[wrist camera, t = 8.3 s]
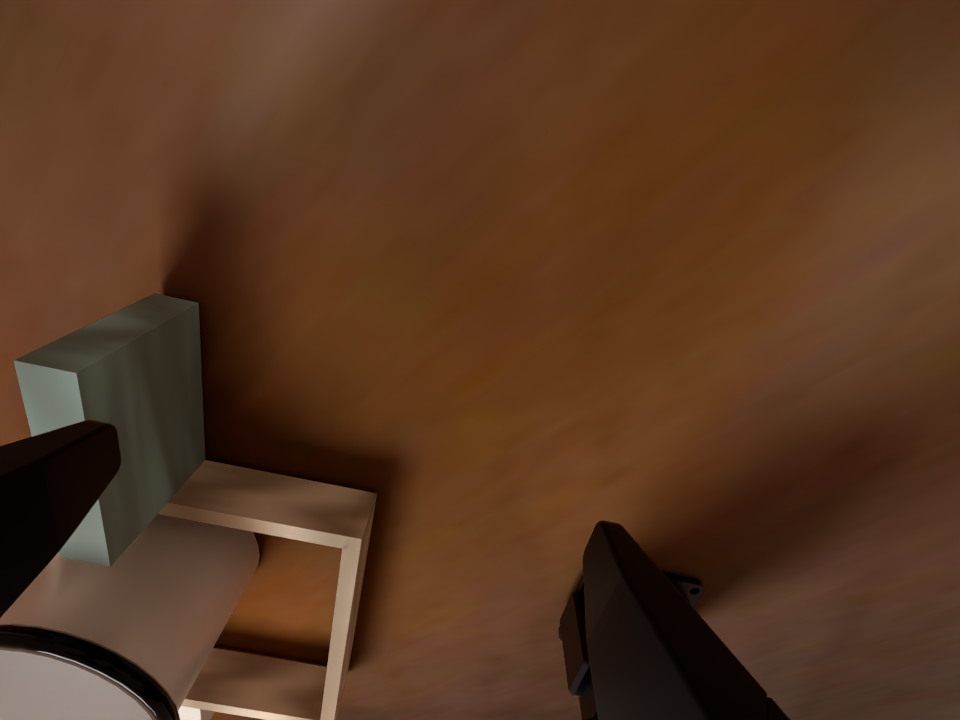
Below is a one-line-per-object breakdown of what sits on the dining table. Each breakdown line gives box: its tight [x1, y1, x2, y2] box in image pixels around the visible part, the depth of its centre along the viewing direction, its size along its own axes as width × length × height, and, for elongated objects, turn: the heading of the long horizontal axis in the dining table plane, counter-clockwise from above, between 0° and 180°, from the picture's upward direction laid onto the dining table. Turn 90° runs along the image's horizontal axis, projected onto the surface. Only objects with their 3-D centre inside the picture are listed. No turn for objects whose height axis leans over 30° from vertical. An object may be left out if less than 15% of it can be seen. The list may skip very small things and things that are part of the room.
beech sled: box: [14, 294, 377, 720], centre depth 22 cm, size 15×24×6 cm, turn 167°
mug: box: [0, 514, 260, 720], centre depth 23 cm, size 12×10×9 cm
